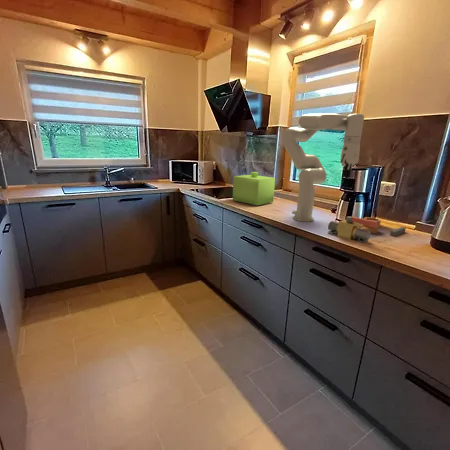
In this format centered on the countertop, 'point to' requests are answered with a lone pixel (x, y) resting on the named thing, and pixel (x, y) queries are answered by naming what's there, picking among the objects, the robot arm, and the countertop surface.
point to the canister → (253, 189)
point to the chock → (397, 231)
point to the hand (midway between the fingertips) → (346, 177)
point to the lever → (362, 221)
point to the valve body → (349, 231)
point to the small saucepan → (371, 229)
